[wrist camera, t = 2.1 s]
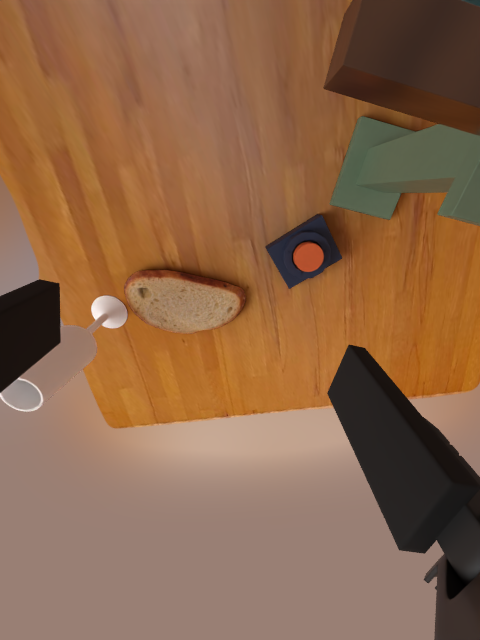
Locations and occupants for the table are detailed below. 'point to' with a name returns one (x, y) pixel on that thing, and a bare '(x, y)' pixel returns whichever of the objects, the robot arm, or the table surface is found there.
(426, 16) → the rectangular bar
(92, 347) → the champagne flute
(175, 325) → the bread slice
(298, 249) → the button
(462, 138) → the stand
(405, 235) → the table surface
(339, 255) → the push button switch
